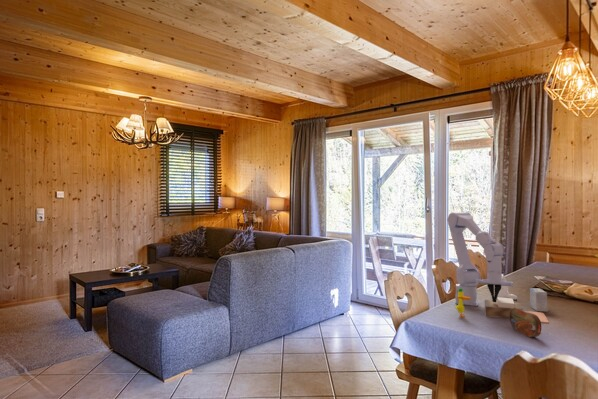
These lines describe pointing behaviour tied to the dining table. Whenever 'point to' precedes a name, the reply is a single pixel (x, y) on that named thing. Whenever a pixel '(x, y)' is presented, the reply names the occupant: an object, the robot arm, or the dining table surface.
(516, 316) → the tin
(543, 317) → the mat
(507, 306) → the thick cream tile
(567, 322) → the dining table surface
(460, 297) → the toy figure
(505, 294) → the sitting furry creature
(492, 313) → the wooden block
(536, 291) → the medicine box
